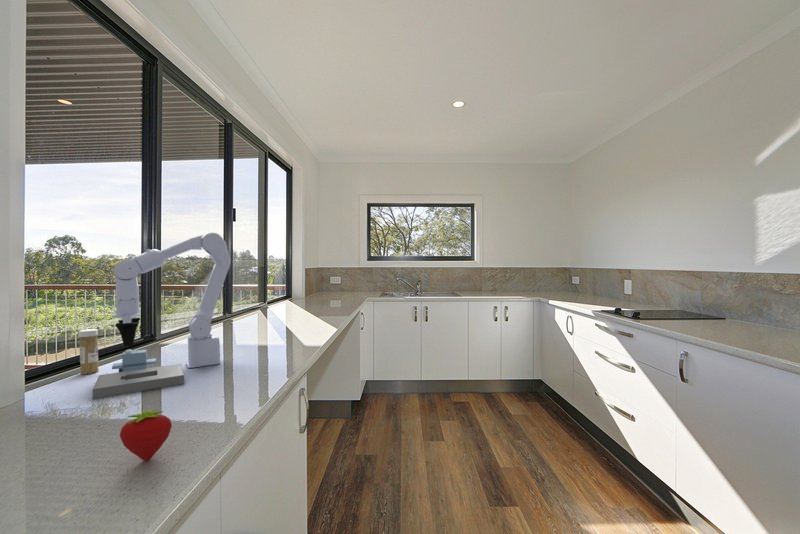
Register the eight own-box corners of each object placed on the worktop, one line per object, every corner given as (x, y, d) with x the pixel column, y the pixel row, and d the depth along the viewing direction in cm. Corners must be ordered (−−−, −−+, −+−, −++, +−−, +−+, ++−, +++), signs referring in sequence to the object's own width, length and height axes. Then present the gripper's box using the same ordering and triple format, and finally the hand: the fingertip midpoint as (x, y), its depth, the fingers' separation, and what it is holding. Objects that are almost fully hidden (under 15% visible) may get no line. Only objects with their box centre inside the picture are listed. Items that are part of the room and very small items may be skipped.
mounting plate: (181, 371, 117) (180, 363, 117) (184, 383, 105) (183, 374, 105) (99, 383, 106) (99, 375, 106) (92, 399, 94) (92, 389, 94)
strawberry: (169, 464, 63) (167, 406, 63) (115, 474, 61) (113, 413, 60) (175, 448, 69) (174, 394, 69) (126, 456, 66) (124, 400, 66)
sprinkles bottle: (97, 372, 116) (96, 330, 116) (78, 375, 114) (77, 331, 113) (99, 369, 120) (98, 327, 120) (81, 371, 118) (80, 329, 117)
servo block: (156, 368, 121) (155, 345, 121) (156, 371, 117) (155, 348, 117) (113, 374, 115) (112, 350, 115) (112, 377, 111) (111, 353, 111)
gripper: (113, 298, 118) (115, 341, 119) (108, 302, 106) (110, 350, 107) (140, 297, 122) (142, 338, 123) (139, 300, 110) (140, 346, 111)
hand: (129, 343), depth 115 cm, fingers open, 7 cm apart
